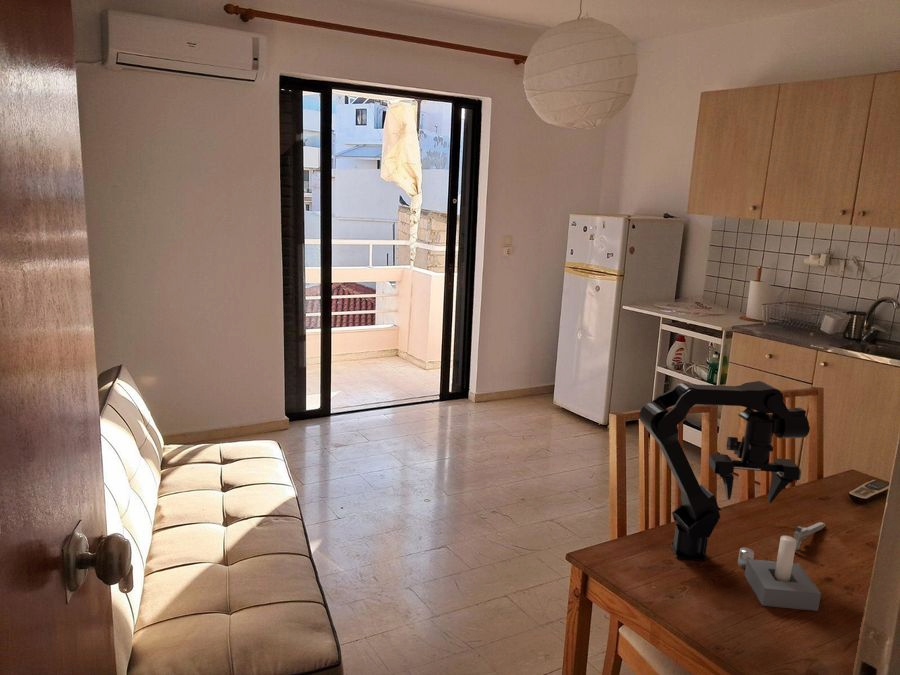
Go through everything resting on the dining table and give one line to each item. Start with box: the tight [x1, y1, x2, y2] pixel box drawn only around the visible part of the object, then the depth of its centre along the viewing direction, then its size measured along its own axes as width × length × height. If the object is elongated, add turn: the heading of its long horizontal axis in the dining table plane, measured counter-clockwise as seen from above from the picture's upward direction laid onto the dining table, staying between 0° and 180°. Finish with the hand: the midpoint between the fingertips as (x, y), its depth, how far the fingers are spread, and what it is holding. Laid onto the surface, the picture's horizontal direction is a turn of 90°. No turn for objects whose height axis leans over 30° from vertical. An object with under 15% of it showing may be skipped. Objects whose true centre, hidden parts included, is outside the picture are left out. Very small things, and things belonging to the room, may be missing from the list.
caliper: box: [793, 521, 826, 553], centre depth 164 cm, size 20×1×6 cm, turn 133°
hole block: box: [744, 559, 822, 612], centre depth 141 cm, size 11×11×4 cm
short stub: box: [737, 547, 755, 569], centre depth 151 cm, size 3×3×4 cm
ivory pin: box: [774, 535, 797, 582], centre depth 140 cm, size 3×3×12 cm
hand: (748, 500), depth 155 cm, fingers open, 9 cm apart
